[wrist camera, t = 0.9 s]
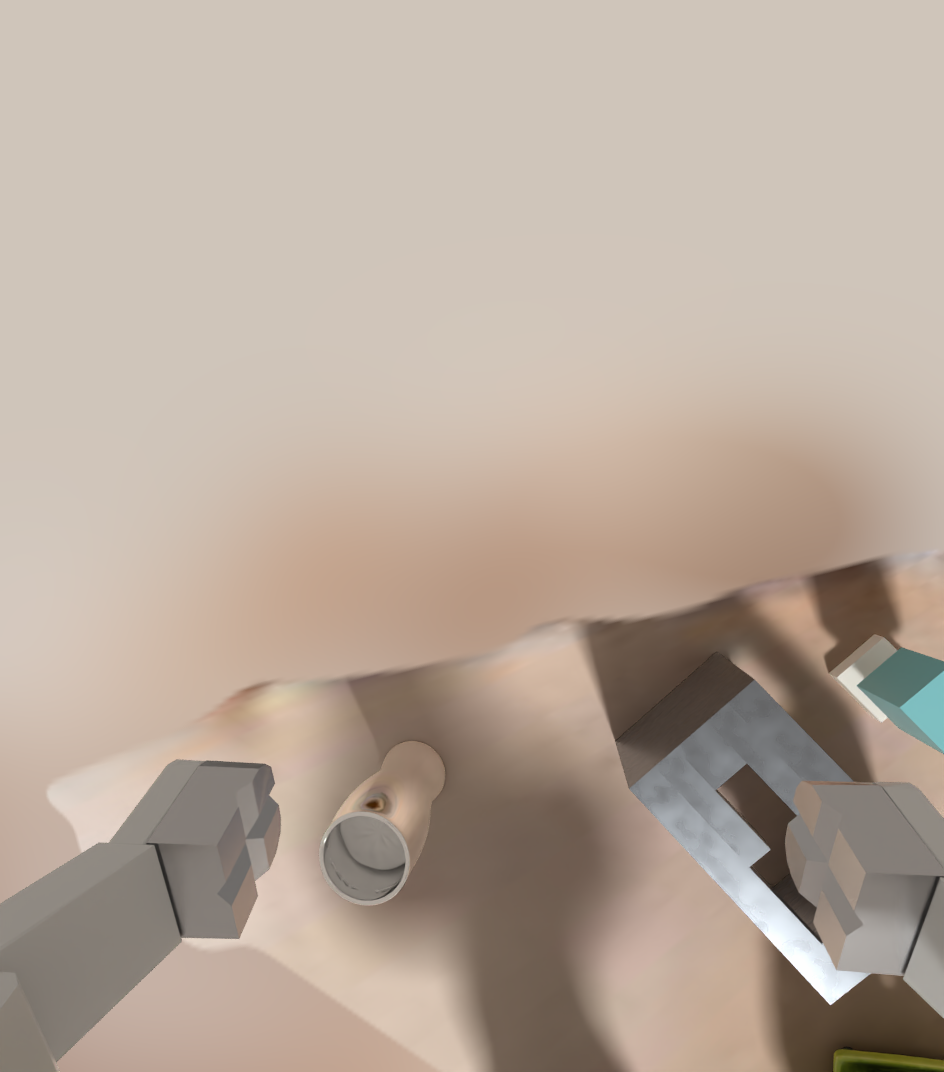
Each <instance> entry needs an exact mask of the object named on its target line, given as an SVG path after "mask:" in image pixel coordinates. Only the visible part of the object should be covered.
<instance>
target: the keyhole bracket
mask: <svg viewBox="0 0 944 1072" xmlns="http://www.w3.org/2000/svg"><path fill="white" fill-rule="evenodd" d="M615 742H616V746H617V749H618V752H619V756H620V759H621V763H622V766H623V770H624V773H625V776H626V780H627V783H628V787H629V789H630V790H631V791H632V792H633V794H634V795H635V796H636V797H637V798H638V799H639V800H640V801H641V802H642V803H643V804H644V805H645V806H646V807H647V809H648V810H649V811H650V812H651V813H652V814H653V815H654V816H655V817H656V818H657V819H658V820H659V821H660V823H661V824H662V825H663V826H664V827H665V828H666V829H667V830H668V831H669V832H670V833H671V834H672V835H673V837H674V838H675V839H676V840H677V841H678V842H679V843H680V844H681V845H682V846H683V847H684V848H685V849H686V851H687V852H688V853H689V854H690V855H691V856H692V857H693V858H694V859H695V860H696V861H697V862H698V863H699V864H700V866H701V867H702V868H703V869H704V870H705V871H706V872H707V873H708V874H709V875H710V876H711V877H712V878H713V880H714V881H715V882H716V883H717V884H718V885H719V886H720V887H721V888H722V889H723V890H724V891H725V892H726V894H727V895H728V896H729V897H730V898H731V899H732V900H733V901H734V902H735V903H736V904H737V905H738V906H739V907H740V909H741V910H742V911H743V912H744V913H745V914H746V915H747V916H748V917H749V918H750V919H751V920H752V921H753V923H754V924H755V925H756V926H757V927H758V928H759V929H760V930H761V931H762V932H763V933H764V934H765V935H766V937H767V938H768V939H769V940H770V941H771V942H772V943H773V944H774V945H775V946H776V947H777V948H778V949H779V950H780V952H781V953H782V954H783V955H784V956H785V957H786V958H787V959H788V960H789V961H790V962H791V963H792V964H793V966H794V967H795V968H796V969H797V970H798V971H799V972H800V973H801V974H802V975H803V976H804V977H805V978H806V980H807V981H808V982H809V983H810V984H811V985H812V986H813V987H814V988H815V989H816V990H817V991H818V992H819V994H820V995H821V996H822V997H823V998H824V999H825V1000H826V1001H827V1002H828V1003H829V1004H830V1005H831V1004H833V1003H834V1002H835V1001H836V1000H838V999H839V998H840V997H842V996H843V995H844V994H845V993H847V992H848V991H849V990H850V989H852V988H853V987H854V986H856V985H857V984H858V983H859V982H861V981H862V980H863V979H865V978H866V977H867V976H868V975H870V974H871V973H862V972H850V971H838V970H836V969H835V966H834V964H833V962H832V960H831V958H830V956H829V954H828V952H827V950H826V948H825V946H824V944H823V942H822V940H821V938H820V936H819V934H818V931H817V929H816V927H815V925H814V923H813V921H814V917H815V913H816V909H817V907H816V906H814V905H813V904H812V903H811V902H810V901H808V900H807V899H806V898H805V897H804V896H802V895H801V894H800V893H799V892H798V890H797V887H796V885H795V883H794V881H793V879H792V877H791V873H790V874H789V875H788V876H786V877H785V878H784V879H783V880H782V881H780V882H779V883H778V884H777V885H775V886H774V887H773V888H772V887H771V886H770V885H769V883H768V882H767V881H766V880H765V879H764V878H763V877H762V876H761V875H760V874H759V873H758V872H757V871H756V870H755V869H754V868H753V866H752V865H753V864H754V863H755V862H756V861H758V860H759V859H760V858H761V857H762V856H764V855H765V854H766V853H767V852H768V851H770V850H771V849H770V848H769V846H768V845H767V843H766V842H765V840H764V839H763V838H762V837H761V836H760V835H759V834H758V832H757V831H756V830H755V829H754V828H753V827H752V826H751V825H750V824H749V823H748V822H747V821H746V820H745V819H744V818H743V817H742V816H741V814H740V813H739V812H738V811H737V810H736V809H735V808H734V807H733V806H732V805H731V804H730V803H729V802H728V801H727V800H726V799H725V798H724V797H723V795H722V794H721V793H720V792H719V791H718V790H717V789H718V788H719V787H720V786H721V785H722V784H723V783H725V782H726V781H727V780H728V779H729V778H730V777H732V776H733V775H734V774H735V773H736V772H738V771H739V770H740V769H741V768H742V767H743V766H745V765H746V764H748V765H749V766H750V767H751V768H752V769H753V770H754V771H755V772H756V773H757V774H758V775H759V776H760V778H761V779H762V780H763V781H764V782H765V783H766V784H767V785H768V786H769V787H770V788H771V789H772V790H773V791H774V792H775V793H776V794H777V795H778V796H779V797H780V798H781V799H782V801H783V802H784V803H785V804H786V805H787V806H788V807H789V808H790V809H791V810H792V811H793V812H794V813H795V814H796V815H797V816H798V815H799V814H800V813H799V811H798V809H797V807H796V805H795V803H794V802H793V799H794V795H795V791H796V788H797V786H798V785H799V784H800V782H801V781H833V782H854V781H853V780H852V779H851V778H850V777H849V776H848V775H847V774H846V773H845V772H844V771H843V770H842V769H841V768H840V767H839V766H838V765H837V764H836V763H835V762H834V761H833V760H832V759H831V758H830V757H829V756H828V754H827V753H826V752H825V751H824V750H823V749H822V748H821V747H820V746H819V745H818V744H817V743H816V742H815V741H814V740H813V739H812V738H811V737H810V736H809V735H808V734H807V733H806V732H805V731H804V730H803V729H802V728H801V727H800V726H799V725H798V724H797V723H796V722H795V721H794V720H793V719H792V718H791V717H790V715H789V714H788V713H787V712H786V711H785V710H784V709H783V708H782V707H781V706H780V705H779V704H778V703H777V702H776V701H775V700H774V699H773V698H772V697H771V696H770V695H769V694H768V693H767V692H766V691H765V690H764V689H763V688H762V687H761V686H760V685H759V684H758V683H757V682H756V681H755V680H754V679H753V678H752V677H750V676H749V675H748V674H746V673H745V672H744V671H742V670H741V669H740V668H738V667H737V666H736V665H734V664H733V663H732V662H730V661H729V660H727V659H726V658H725V657H723V656H722V655H721V654H719V653H718V652H716V653H715V654H714V655H712V656H711V657H710V658H709V659H708V660H707V661H706V662H705V663H703V664H702V665H701V666H700V667H699V668H698V669H697V670H695V671H694V672H693V673H692V674H691V675H690V676H689V677H688V678H686V679H685V680H684V681H683V682H682V683H681V684H680V685H678V686H677V687H676V688H675V689H674V690H673V691H672V692H671V693H669V694H668V695H667V696H666V697H665V698H664V699H663V700H662V701H660V702H659V703H658V704H657V705H656V706H655V707H654V708H652V709H651V710H650V711H649V712H648V713H647V714H646V715H645V716H643V717H642V718H641V719H640V720H639V721H638V722H637V723H635V724H634V725H633V726H632V727H631V728H630V729H629V730H628V731H626V732H625V733H624V734H623V735H622V736H621V737H620V738H618V739H617V740H616V741H615Z"/></svg>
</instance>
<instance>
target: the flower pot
mask: <svg viewBox="0 0 944 1072" xmlns="http://www.w3.org/2000/svg"><path fill="white" fill-rule="evenodd" d="M833 1072H944V1060H938V1059H930V1058H921V1057H913V1056H905V1055H896V1054H887V1053H877V1052H866V1051H856V1050H853V1049H852V1048H848V1047H845V1048H843V1049H839V1050H836V1051H835V1053H834V1060H833Z"/></svg>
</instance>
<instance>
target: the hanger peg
mask: <svg viewBox="0 0 944 1072" xmlns="http://www.w3.org/2000/svg"><path fill="white" fill-rule="evenodd" d="M829 674H830V675H831V676H832V677H833V678H834V679H835V680H836V681H837V682H838V683H839V684H840V685H841V686H842V687H843V688H844V689H845V690H846V692H847V693H848V694H849V695H850V696H851V697H852V698H853V699H854V700H855V701H856V702H857V703H858V704H859V705H860V706H861V707H862V708H863V709H864V710H865V711H866V712H867V713H868V714H869V715H870V716H871V717H872V718H874V719H876V720H878V721H879V722H881V723H882V722H883V721H884V720H885V719H887V718H889V719H890V720H891V721H892V722H893V723H894V724H895V725H896V726H897V727H898V728H899V729H901V730H902V731H904V732H906V733H908V734H909V735H911V736H913V737H915V738H916V739H918V740H920V741H922V742H923V743H925V744H927V745H929V746H930V747H932V748H934V749H936V750H937V751H939V752H941V753H943V754H944V661H941V660H938V659H935V658H932V657H929V656H926V655H923V654H920V653H917V652H914V651H911V650H908V649H905V648H902V647H901V648H900V649H899V650H897V649H896V648H895V647H894V646H892V645H891V644H890V643H889V642H888V641H887V640H886V639H885V638H884V637H882V636H879V635H876V634H874V635H873V636H872V637H870V638H869V639H868V640H867V641H866V642H865V643H863V644H862V645H861V646H860V647H859V648H858V649H856V650H855V651H854V652H853V653H852V654H851V655H849V656H848V657H847V658H846V659H845V660H844V661H842V662H841V663H840V664H839V665H838V666H837V667H835V668H834V669H833V670H832V671H831V672H830V673H829Z"/></svg>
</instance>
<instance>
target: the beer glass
mask: <svg viewBox="0 0 944 1072" xmlns="http://www.w3.org/2000/svg"><path fill="white" fill-rule="evenodd" d="M444 782H445V768H444V764H443V762H442V759H441V758H440V756H439V755H438V753H437V752H436V751H435V750H434V749H433V748H432V747H430V746H429V745H427V744H425V743H422V742H418V741H406V742H402V743H400V744H398V745H396V746H394V747H393V748H392V749H391V750H390V751H389V752H388V753H387V755H386V756H385V758H384V760H383V763H382V766H381V770H380V771H378V772H377V773H375V774H374V775H372V776H371V777H369V778H368V779H366V780H365V781H364V782H362V783H361V784H360V785H359V786H358V787H357V788H355V789H354V791H353V792H352V793H351V794H350V795H349V796H348V797H347V799H346V800H345V801H344V803H343V804H342V806H341V807H340V808H339V810H338V812H337V813H336V815H335V817H334V818H333V820H332V822H331V824H330V826H329V827H328V828H327V830H326V831H325V833H324V835H323V837H322V840H321V843H320V848H319V862H320V867H321V871H322V873H323V876H324V878H325V880H326V881H327V883H328V884H329V886H330V887H331V888H332V889H333V890H334V892H336V893H337V894H338V895H339V896H340V897H342V898H343V899H345V900H347V901H349V902H352V903H355V904H358V905H367V906H369V905H377V904H381V903H384V902H386V901H388V900H390V899H391V898H393V897H394V896H395V895H396V894H397V893H398V892H399V891H400V890H401V889H402V887H403V886H404V884H405V882H406V880H407V878H408V876H409V874H410V873H411V871H412V869H413V868H414V866H415V864H416V862H417V860H418V858H419V856H420V854H421V852H422V849H423V847H424V844H425V841H426V838H427V835H428V830H429V824H430V815H431V803H432V801H433V800H434V799H436V797H437V796H438V795H439V794H440V792H441V790H442V788H443V786H444Z"/></svg>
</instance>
